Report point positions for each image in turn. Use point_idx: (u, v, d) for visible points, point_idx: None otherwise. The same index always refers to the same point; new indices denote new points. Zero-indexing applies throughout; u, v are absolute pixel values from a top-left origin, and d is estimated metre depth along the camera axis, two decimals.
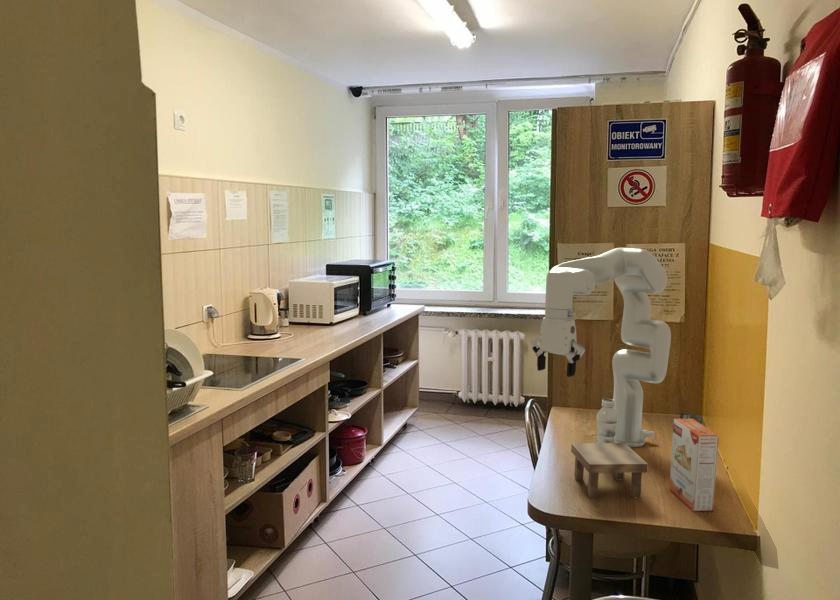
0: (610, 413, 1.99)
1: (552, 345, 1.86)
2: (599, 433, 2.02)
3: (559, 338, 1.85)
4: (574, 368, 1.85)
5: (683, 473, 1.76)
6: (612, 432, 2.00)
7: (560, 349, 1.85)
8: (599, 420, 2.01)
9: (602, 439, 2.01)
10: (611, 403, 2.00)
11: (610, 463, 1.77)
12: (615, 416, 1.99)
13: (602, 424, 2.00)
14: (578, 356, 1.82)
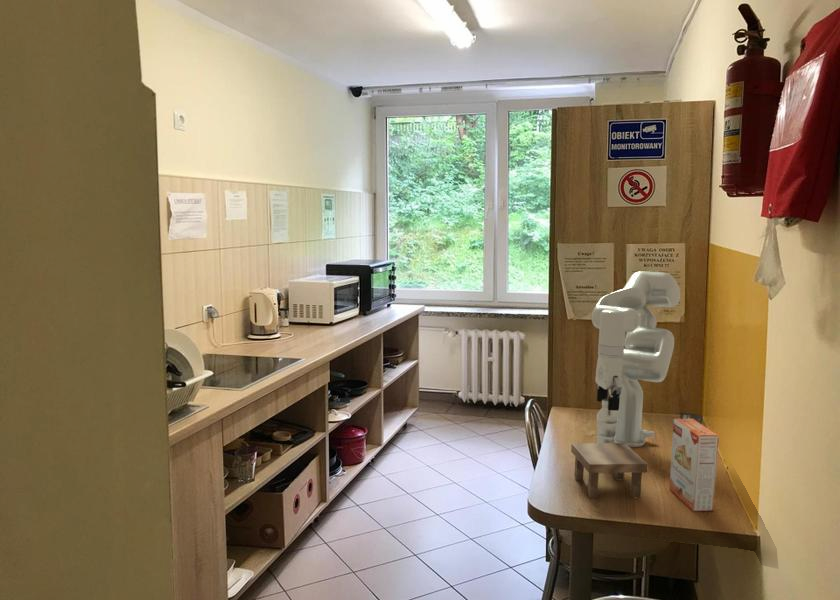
0: (610, 413, 1.99)
1: None
2: (599, 433, 2.02)
3: None
4: None
5: (683, 473, 1.76)
6: (612, 432, 2.00)
7: None
8: (599, 420, 2.01)
9: (602, 439, 2.01)
10: None
11: (610, 463, 1.77)
12: (615, 416, 1.99)
13: (602, 424, 2.00)
14: None
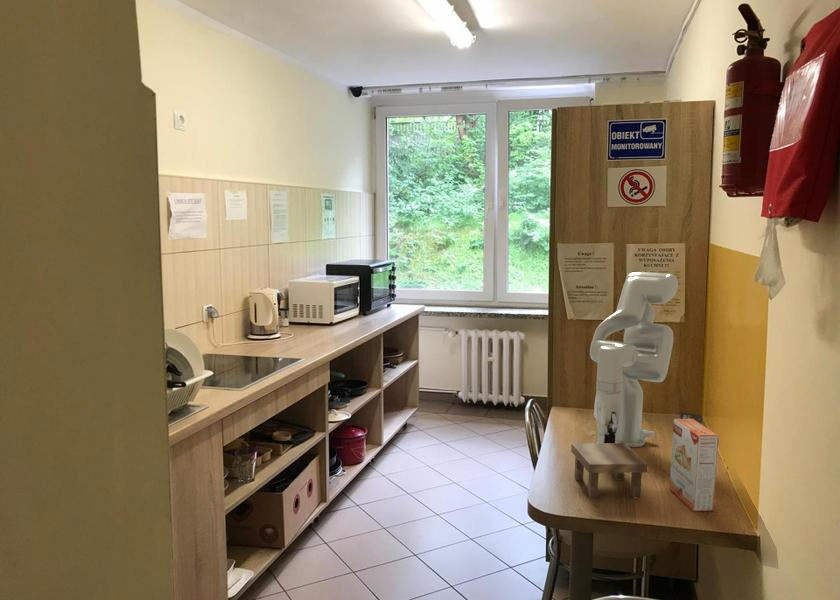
0: None
1: None
2: (599, 433, 2.02)
3: None
4: None
5: (683, 473, 1.76)
6: None
7: None
8: (599, 420, 2.01)
9: (602, 439, 2.01)
10: None
11: (610, 463, 1.77)
12: None
13: None
14: None
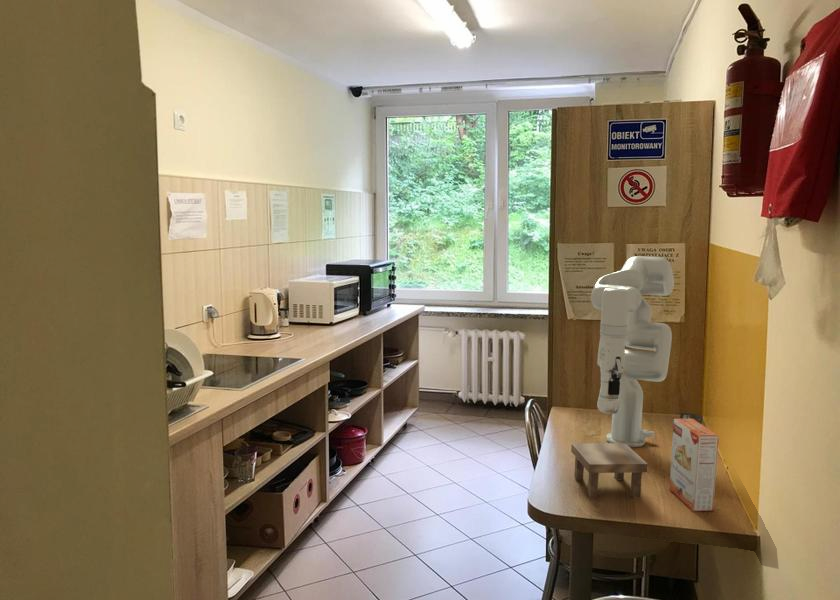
0: None
1: None
2: (602, 380, 1.91)
3: None
4: None
5: (683, 473, 1.76)
6: None
7: None
8: (602, 366, 1.90)
9: (605, 386, 1.90)
10: None
11: (610, 463, 1.77)
12: None
13: None
14: None
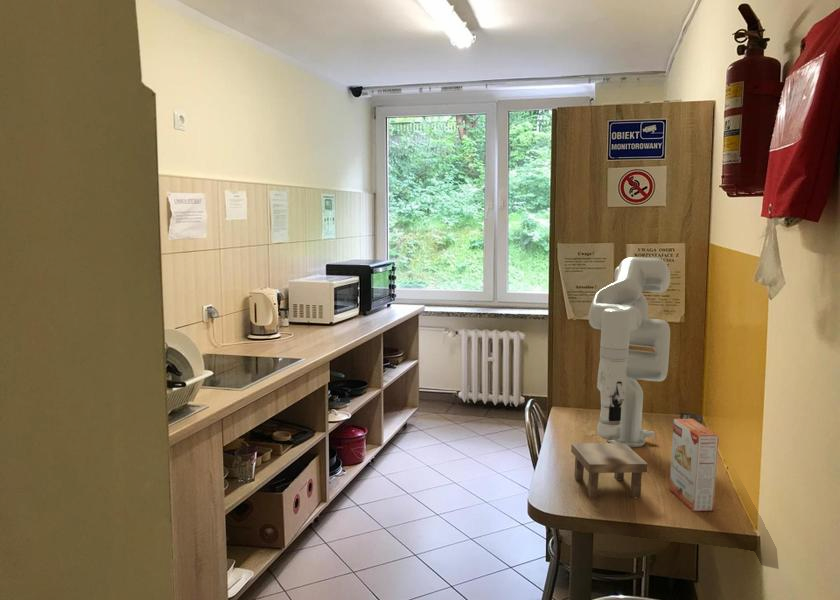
0: None
1: None
2: (603, 405, 1.81)
3: None
4: None
5: (683, 473, 1.76)
6: None
7: None
8: (603, 391, 1.81)
9: (606, 412, 1.81)
10: None
11: (610, 463, 1.77)
12: None
13: None
14: None
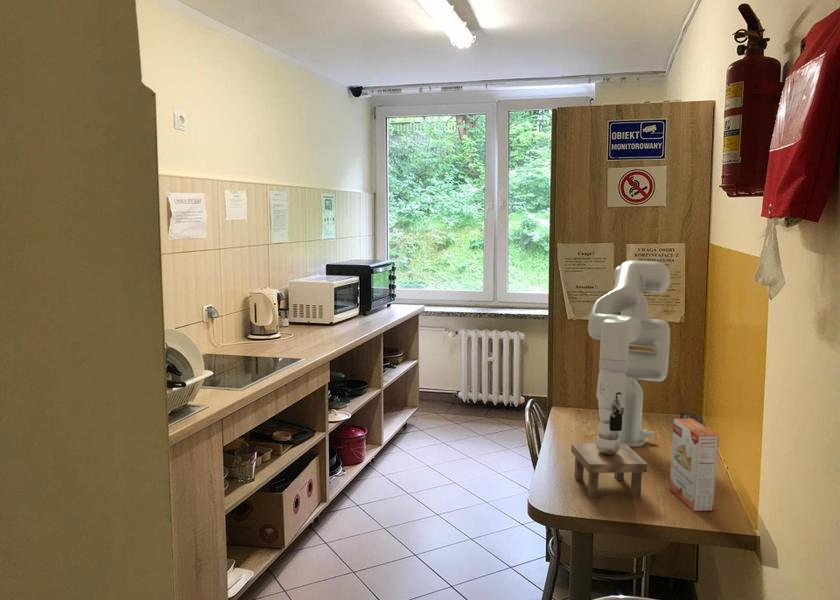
0: None
1: None
2: (601, 420, 1.82)
3: None
4: None
5: (683, 473, 1.76)
6: None
7: None
8: (601, 406, 1.81)
9: (604, 427, 1.81)
10: None
11: (610, 463, 1.77)
12: None
13: (604, 410, 1.80)
14: None
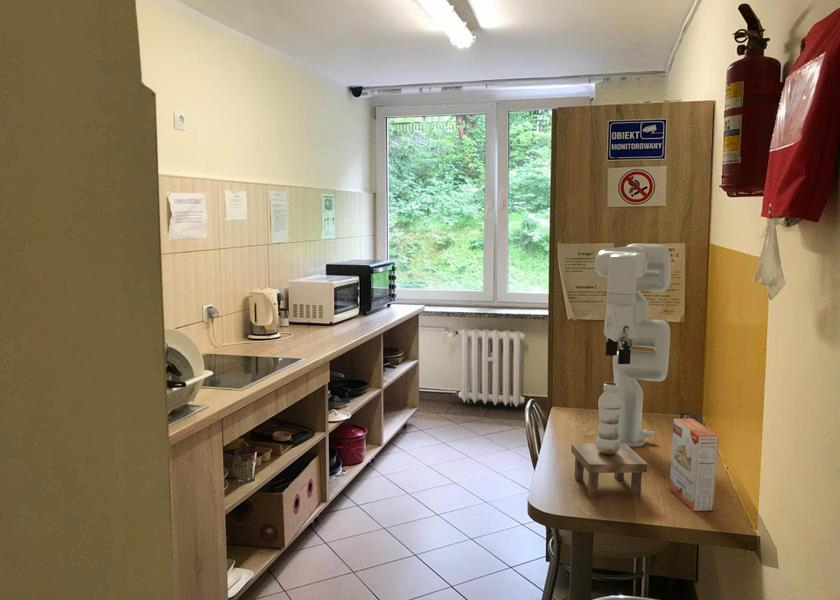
0: (613, 398, 1.79)
1: None
2: (601, 420, 1.82)
3: None
4: None
5: (683, 473, 1.76)
6: (615, 419, 1.80)
7: None
8: (601, 406, 1.81)
9: (604, 427, 1.81)
10: (614, 387, 1.79)
11: (610, 463, 1.77)
12: (618, 401, 1.79)
13: (604, 410, 1.80)
14: None
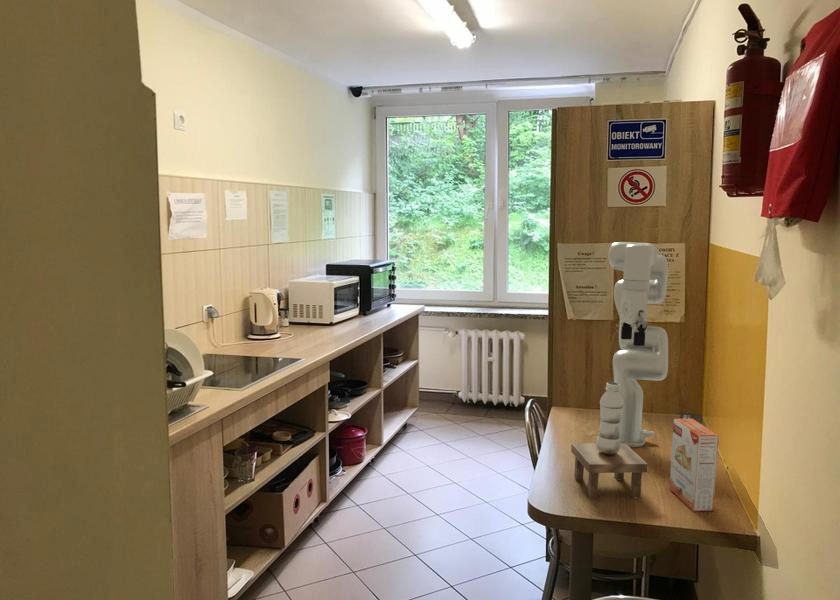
0: (615, 397, 1.80)
1: None
2: (602, 419, 1.82)
3: None
4: None
5: (683, 473, 1.76)
6: (616, 419, 1.80)
7: None
8: (602, 405, 1.81)
9: (605, 426, 1.81)
10: (616, 386, 1.80)
11: (610, 463, 1.77)
12: (620, 401, 1.80)
13: (606, 409, 1.80)
14: None
